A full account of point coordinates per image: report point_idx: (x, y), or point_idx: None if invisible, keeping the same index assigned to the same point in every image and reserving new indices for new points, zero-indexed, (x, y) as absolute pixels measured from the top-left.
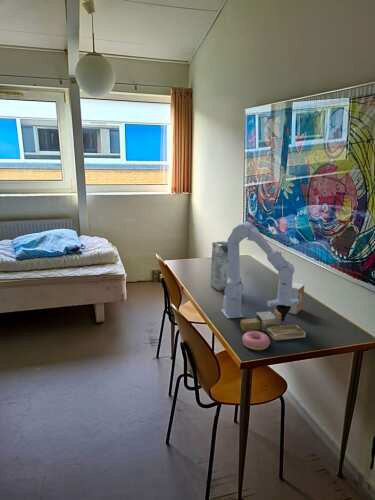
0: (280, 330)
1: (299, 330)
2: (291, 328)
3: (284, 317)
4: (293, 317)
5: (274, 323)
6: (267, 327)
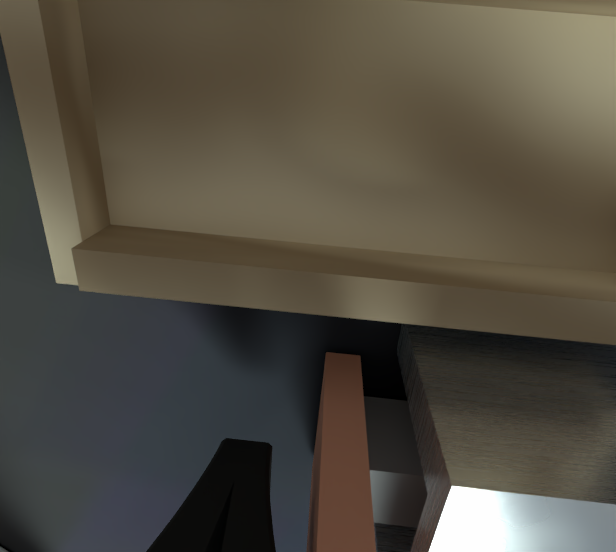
0: (415, 250)
1: (77, 109)
2: (194, 239)
3: (210, 494)
4: (19, 492)
5: (501, 401)
6: (608, 368)
